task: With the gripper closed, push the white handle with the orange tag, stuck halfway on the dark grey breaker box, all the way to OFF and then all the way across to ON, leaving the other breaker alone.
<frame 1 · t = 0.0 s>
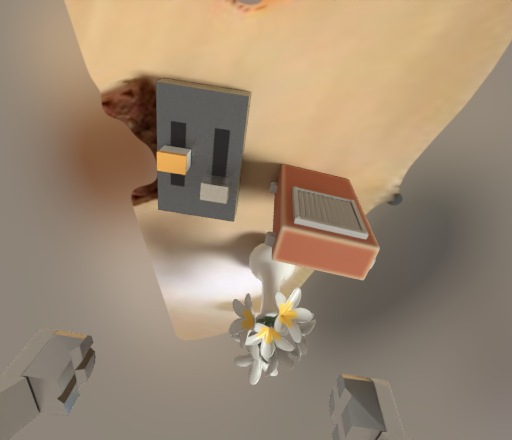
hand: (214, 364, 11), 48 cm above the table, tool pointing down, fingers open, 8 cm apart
tripped breaker: (174, 159, 52), point 6 cm above the table, slide at 4.0 cm
flower vase: (274, 254, 68), on the table
breaker box: (204, 151, 57), on the table
orange retro radio: (311, 183, 59), on the table
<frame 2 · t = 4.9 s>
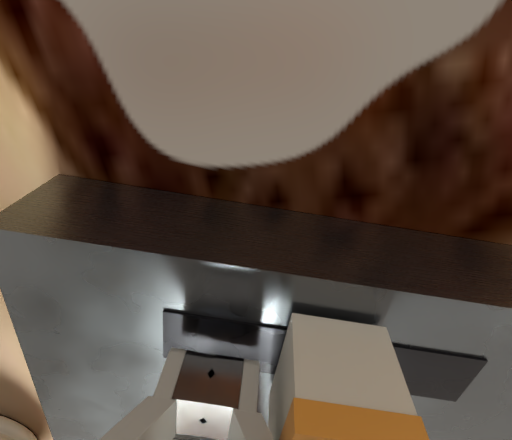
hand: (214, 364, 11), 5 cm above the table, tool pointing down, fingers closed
tripped breaker: (328, 416, 10), point 6 cm above the table, slide at 3.9 cm, touching gripper
breaker box: (294, 332, 17), on the table
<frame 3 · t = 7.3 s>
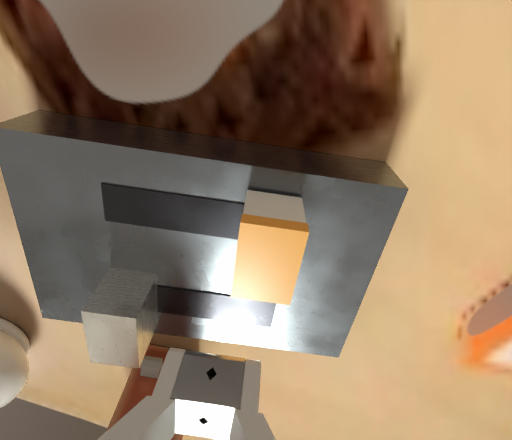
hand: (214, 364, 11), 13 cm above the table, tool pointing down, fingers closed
tripped breaker: (267, 245, 17), point 6 cm above the table, slide at 0.0 cm
breaker box: (207, 230, 24), on the table
orange retro radio: (168, 383, 34), on the table
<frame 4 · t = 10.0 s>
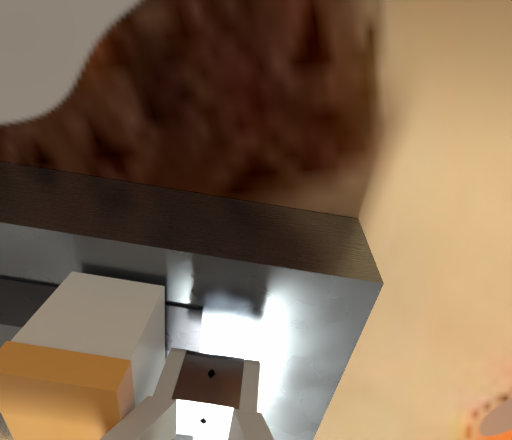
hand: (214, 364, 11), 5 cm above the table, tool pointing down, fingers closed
tripped breaker: (98, 370, 10), point 6 cm above the table, slide at 1.3 cm, touching gripper
breaker box: (110, 299, 17), on the table
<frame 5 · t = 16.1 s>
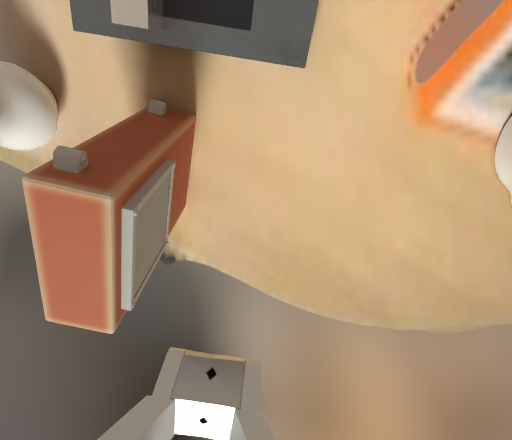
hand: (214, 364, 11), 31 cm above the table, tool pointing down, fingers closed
flower vase: (29, 105, 38), on the table
orange retro radio: (170, 159, 41), on the table
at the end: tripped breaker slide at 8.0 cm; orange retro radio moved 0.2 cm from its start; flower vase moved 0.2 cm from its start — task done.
